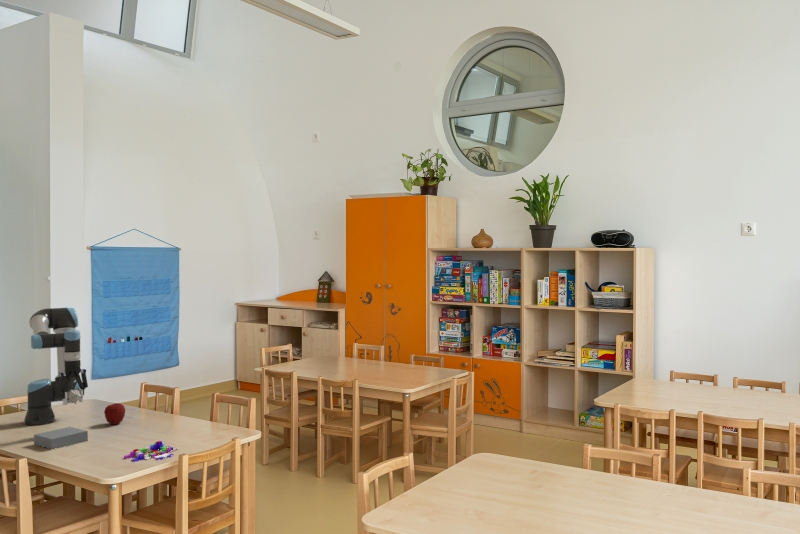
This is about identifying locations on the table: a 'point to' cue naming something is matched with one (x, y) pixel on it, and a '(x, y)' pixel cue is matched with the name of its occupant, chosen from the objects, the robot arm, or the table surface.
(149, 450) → the building block set
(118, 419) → the apple
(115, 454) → the table surface
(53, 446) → the plinth
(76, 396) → the game die
